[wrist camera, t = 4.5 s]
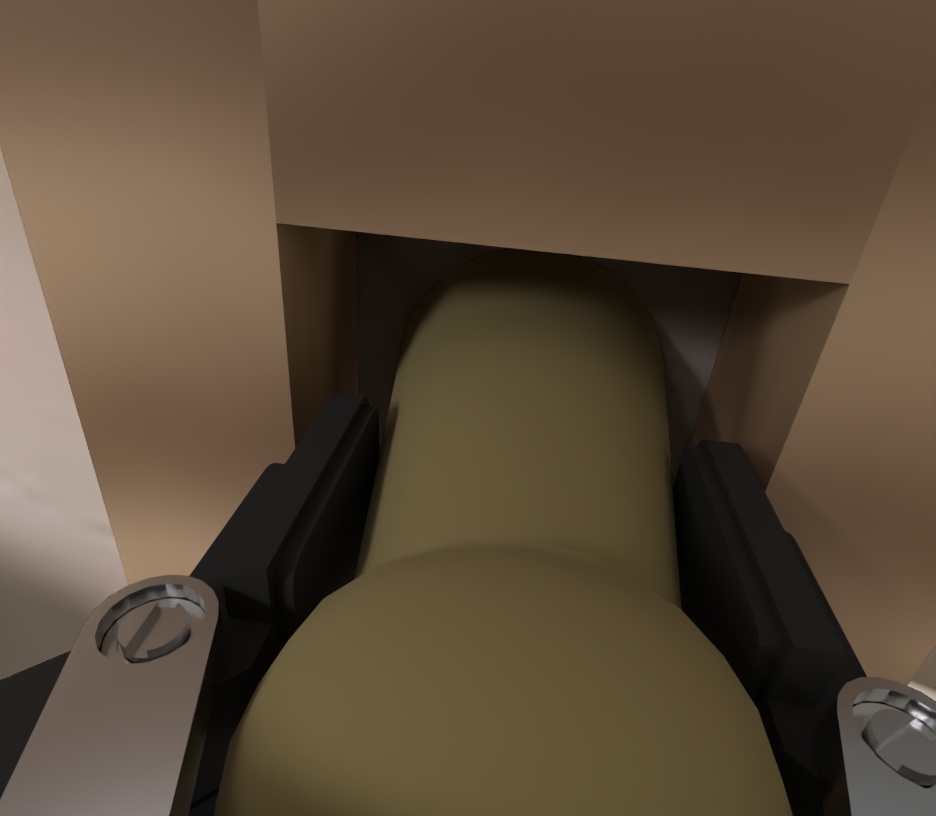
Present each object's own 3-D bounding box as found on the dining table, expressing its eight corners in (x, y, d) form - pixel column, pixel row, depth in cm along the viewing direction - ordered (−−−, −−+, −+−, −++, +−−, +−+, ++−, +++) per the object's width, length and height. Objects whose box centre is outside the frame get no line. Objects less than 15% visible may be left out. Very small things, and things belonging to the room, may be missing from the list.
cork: (718, 317, 13) (1244, 1085, 3) (584, 516, 16) (640, 1218, 6) (454, 199, 12) (95, 687, 3) (367, 429, 15) (53, 1051, 6)
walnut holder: (123, -89, 10) (-92, -168, 7) (1104, -16, 9) (1434, -67, 6) (234, 579, 18) (161, 698, 15) (769, 657, 17) (824, 805, 14)
